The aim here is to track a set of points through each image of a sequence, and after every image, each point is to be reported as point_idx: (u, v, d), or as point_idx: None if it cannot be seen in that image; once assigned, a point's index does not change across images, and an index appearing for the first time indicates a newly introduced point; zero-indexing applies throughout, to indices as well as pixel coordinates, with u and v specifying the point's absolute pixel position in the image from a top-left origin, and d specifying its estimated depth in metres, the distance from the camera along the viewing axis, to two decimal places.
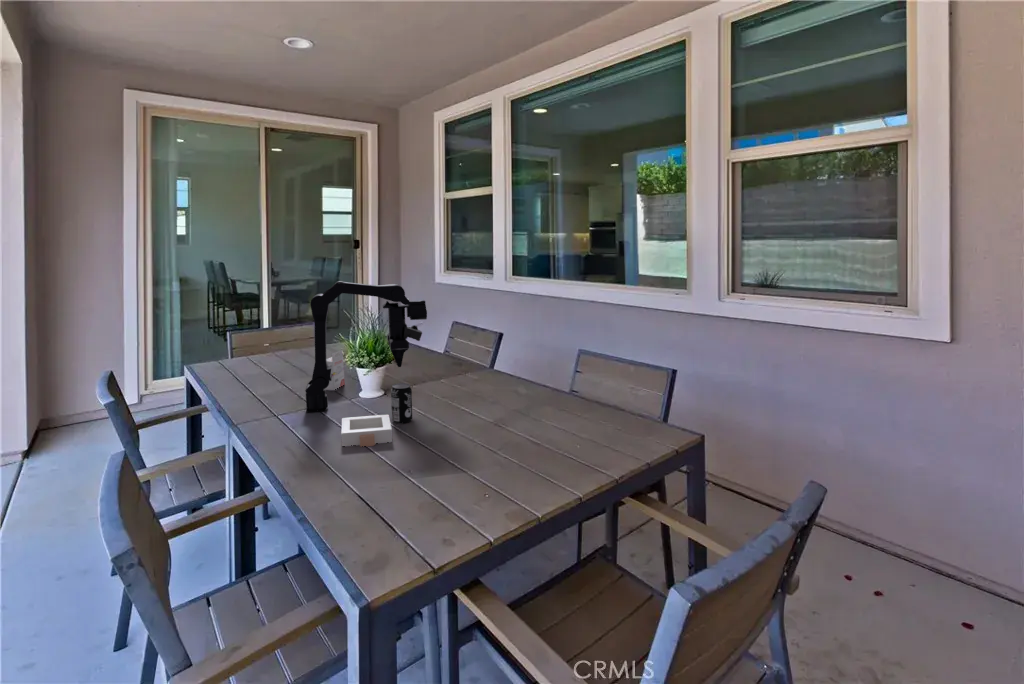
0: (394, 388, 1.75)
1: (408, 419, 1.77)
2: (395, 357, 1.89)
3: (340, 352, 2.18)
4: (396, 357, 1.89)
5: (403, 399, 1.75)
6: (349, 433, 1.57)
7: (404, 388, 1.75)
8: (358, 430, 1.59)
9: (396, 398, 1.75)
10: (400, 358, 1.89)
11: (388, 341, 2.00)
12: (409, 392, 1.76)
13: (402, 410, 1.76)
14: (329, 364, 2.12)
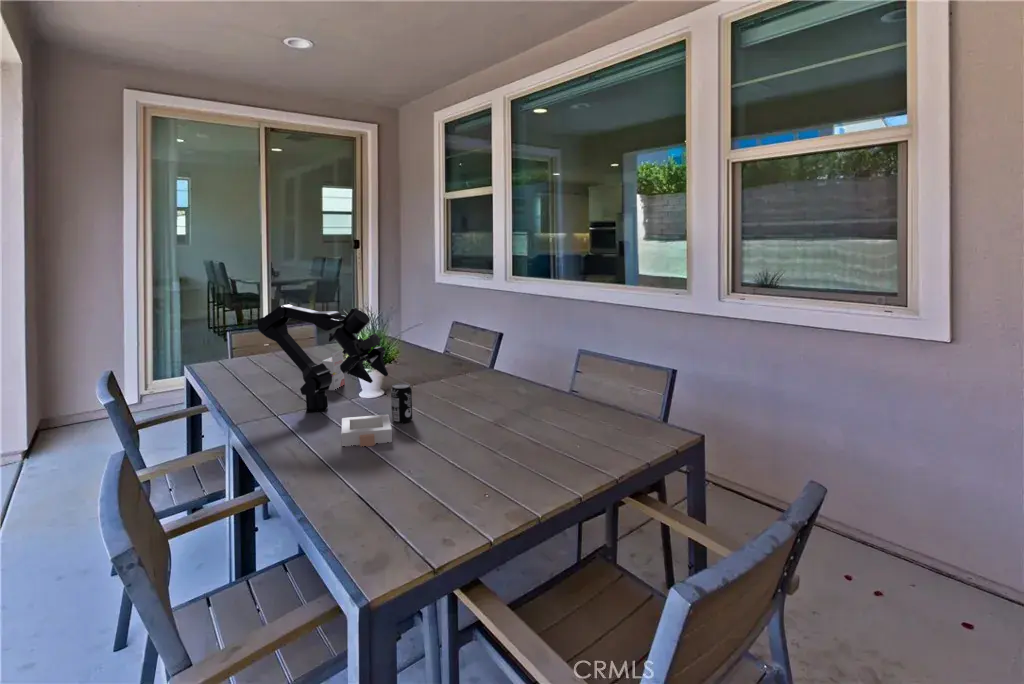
0: (394, 388, 1.75)
1: (408, 419, 1.77)
2: (359, 377, 1.75)
3: (340, 352, 2.18)
4: (360, 376, 1.75)
5: (403, 399, 1.75)
6: (349, 433, 1.57)
7: (404, 388, 1.75)
8: (358, 430, 1.59)
9: (396, 398, 1.75)
10: (363, 374, 1.75)
11: None
12: (409, 392, 1.76)
13: (402, 410, 1.76)
14: (329, 364, 2.12)
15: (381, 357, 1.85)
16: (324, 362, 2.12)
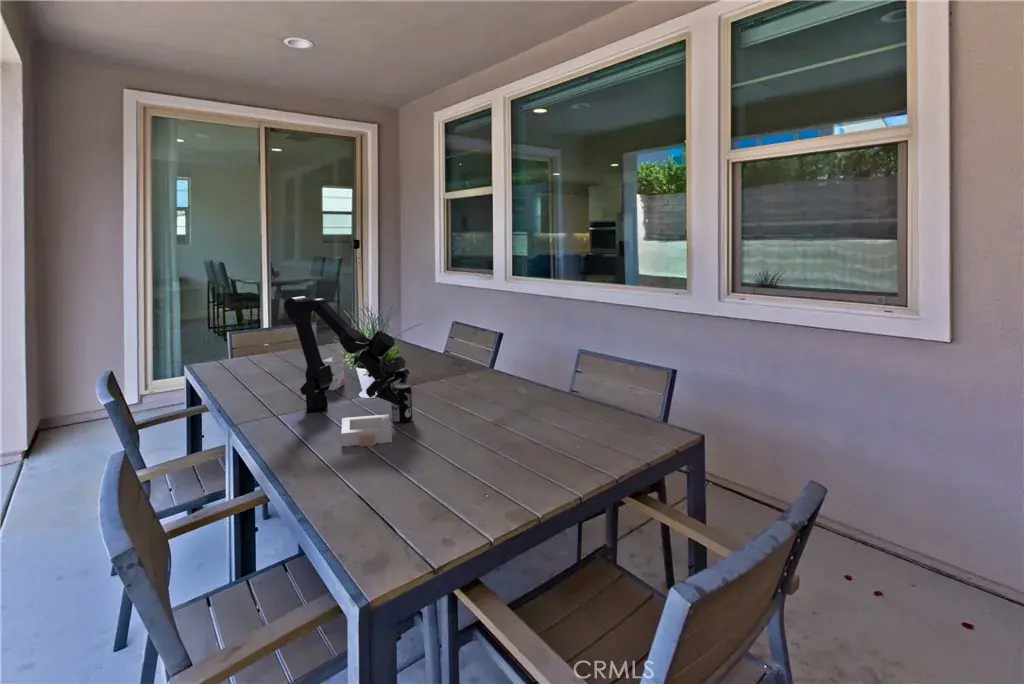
0: (394, 388, 1.75)
1: (408, 419, 1.77)
2: (387, 399, 1.74)
3: (340, 352, 2.18)
4: (388, 399, 1.74)
5: (403, 398, 1.75)
6: (349, 433, 1.57)
7: (404, 388, 1.75)
8: (358, 430, 1.59)
9: None
10: (391, 397, 1.74)
11: None
12: (409, 392, 1.76)
13: (402, 410, 1.76)
14: (329, 364, 2.12)
15: (404, 380, 1.82)
16: (324, 362, 2.12)
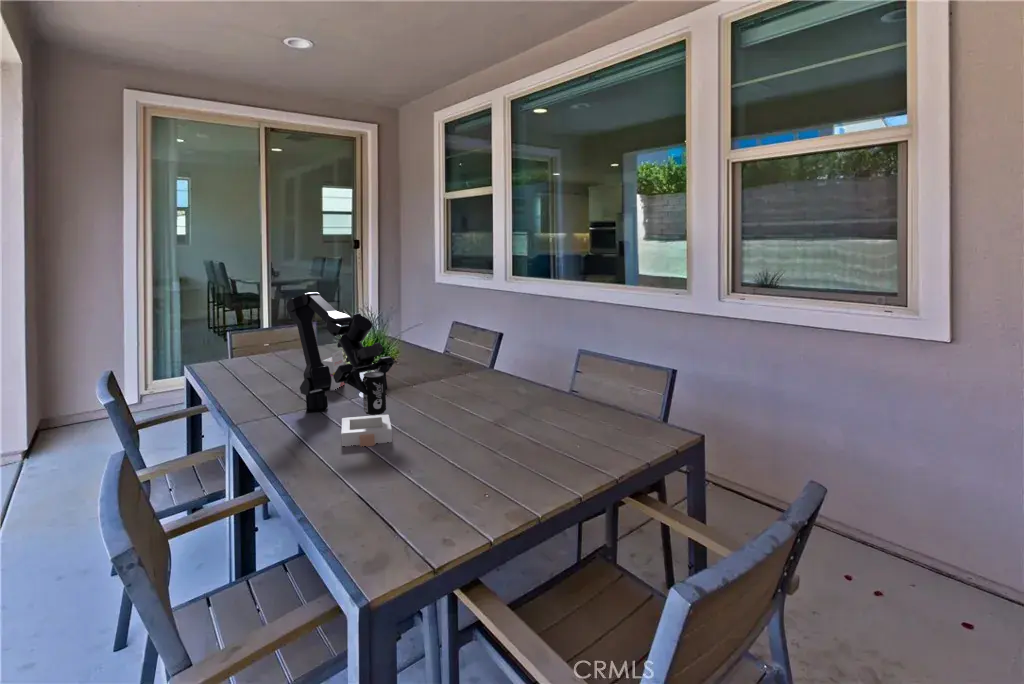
0: (364, 376, 1.63)
1: (377, 411, 1.64)
2: (356, 387, 1.63)
3: (340, 352, 2.18)
4: (356, 386, 1.63)
5: (371, 388, 1.62)
6: (349, 433, 1.57)
7: (373, 377, 1.62)
8: (358, 430, 1.59)
9: (365, 386, 1.63)
10: (359, 385, 1.62)
11: None
12: (379, 382, 1.63)
13: (370, 400, 1.63)
14: (329, 364, 2.12)
15: (383, 369, 1.69)
16: (324, 362, 2.12)
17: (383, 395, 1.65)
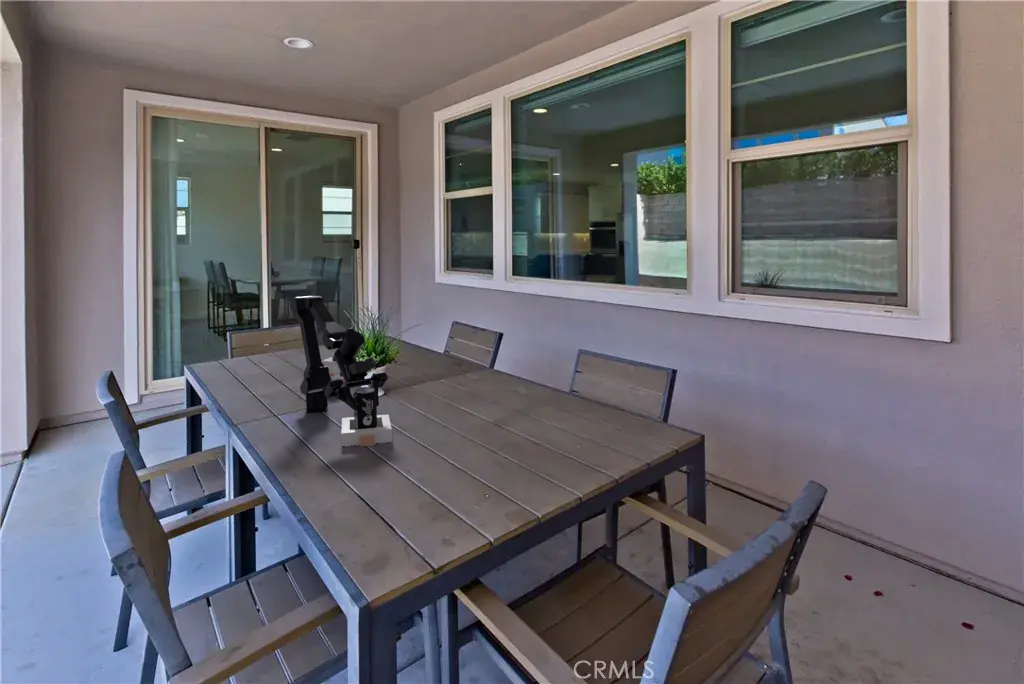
0: None
1: (367, 427, 1.62)
2: (346, 403, 1.62)
3: None
4: (347, 402, 1.62)
5: (360, 404, 1.60)
6: (349, 433, 1.57)
7: (363, 393, 1.60)
8: (358, 430, 1.59)
9: (355, 402, 1.61)
10: (349, 401, 1.61)
11: None
12: (369, 398, 1.61)
13: (360, 416, 1.61)
14: (329, 364, 2.12)
15: (375, 384, 1.67)
16: (324, 362, 2.12)
17: (373, 411, 1.63)
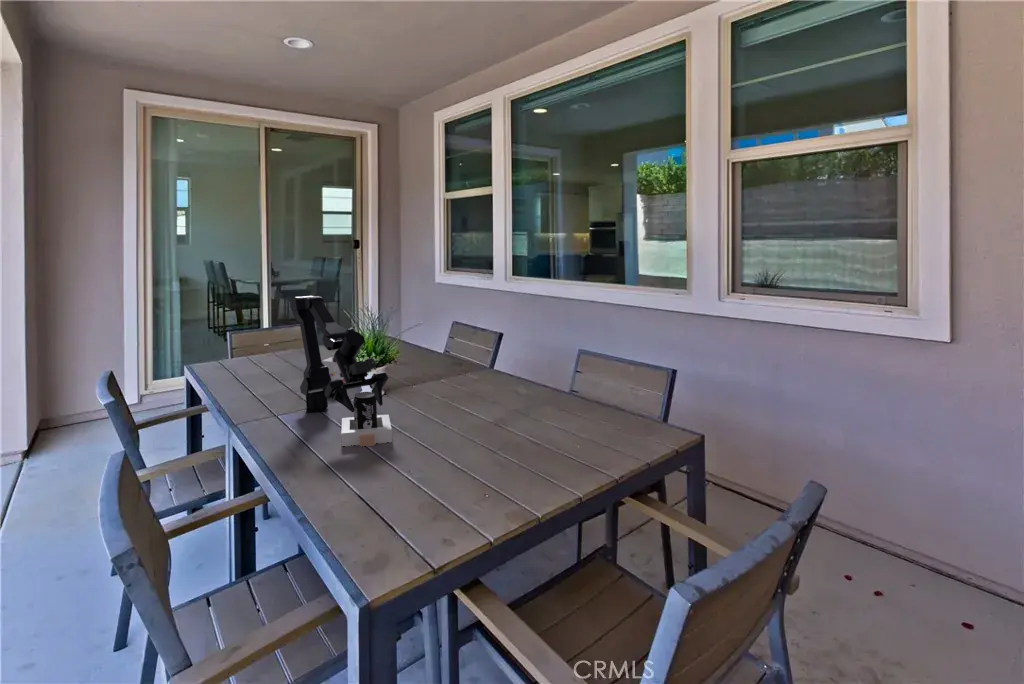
0: (355, 396, 1.62)
1: None
2: (343, 404, 1.61)
3: None
4: (343, 403, 1.61)
5: (360, 409, 1.61)
6: (349, 433, 1.57)
7: (363, 398, 1.61)
8: (358, 430, 1.59)
9: (355, 407, 1.62)
10: (346, 402, 1.60)
11: None
12: (369, 403, 1.61)
13: (360, 421, 1.62)
14: (329, 364, 2.12)
15: (379, 384, 1.68)
16: (324, 362, 2.12)
17: (373, 416, 1.63)
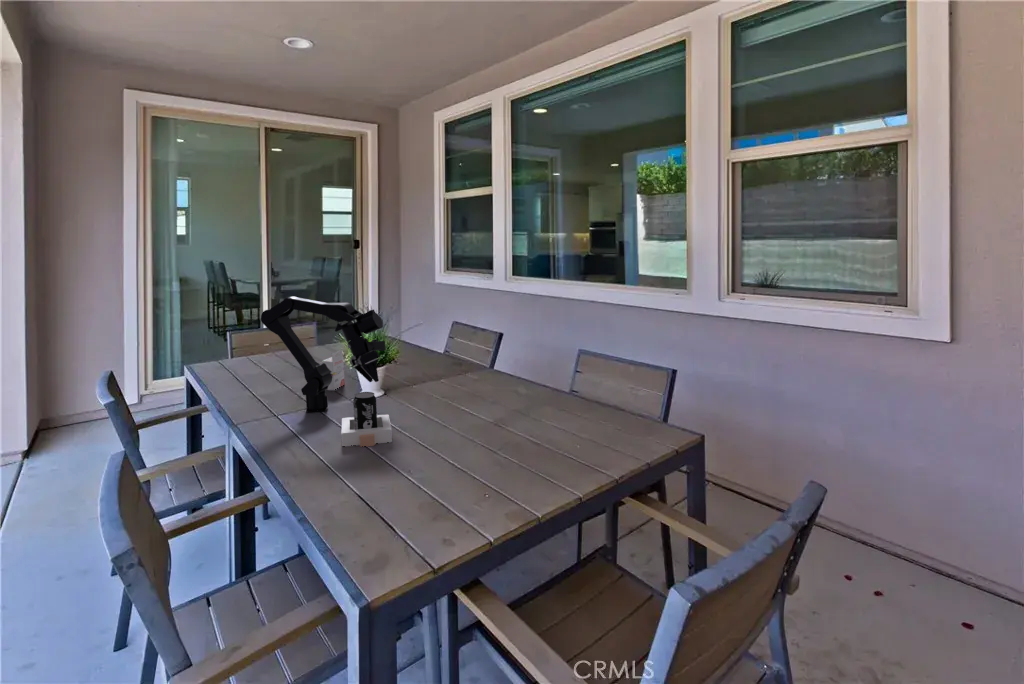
0: None
1: None
2: (369, 373, 1.79)
3: (340, 352, 2.18)
4: (370, 372, 1.79)
5: (360, 409, 1.61)
6: (349, 433, 1.57)
7: (363, 398, 1.61)
8: (358, 430, 1.59)
9: (355, 407, 1.62)
10: (374, 372, 1.80)
11: None
12: (369, 403, 1.61)
13: (360, 421, 1.62)
14: (329, 364, 2.12)
15: None
16: (324, 362, 2.12)
17: (373, 416, 1.63)
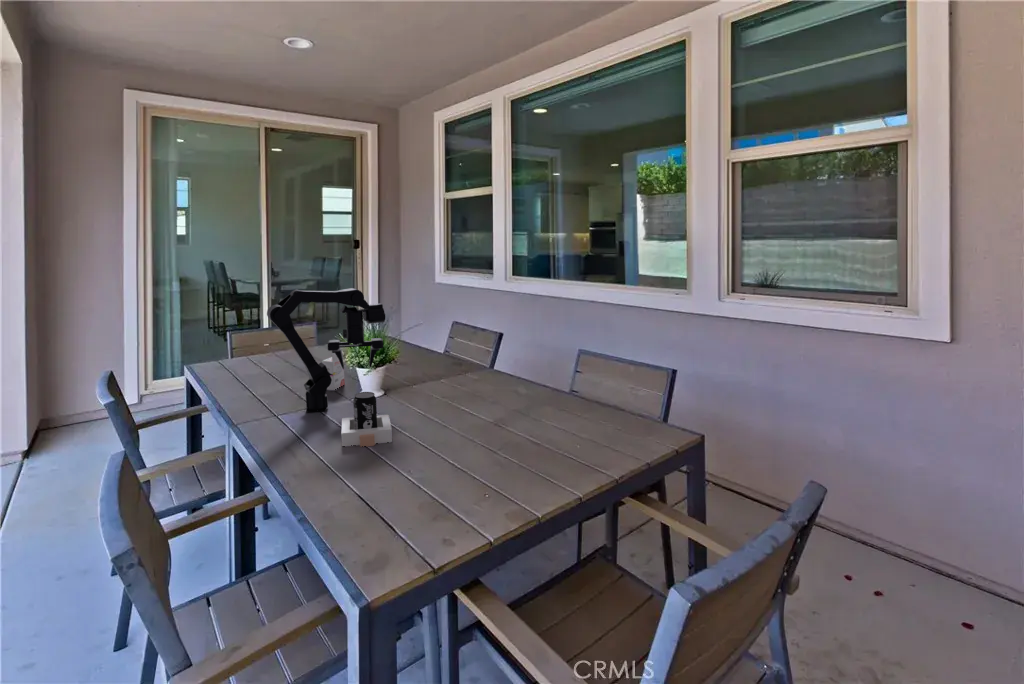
0: (355, 396, 1.62)
1: None
2: (373, 357, 1.95)
3: None
4: None
5: (360, 409, 1.61)
6: (349, 433, 1.57)
7: (363, 398, 1.61)
8: (358, 430, 1.59)
9: (355, 407, 1.62)
10: None
11: (334, 351, 1.90)
12: (369, 403, 1.61)
13: (360, 421, 1.62)
14: (329, 364, 2.12)
15: None
16: (324, 362, 2.12)
17: (373, 416, 1.63)
